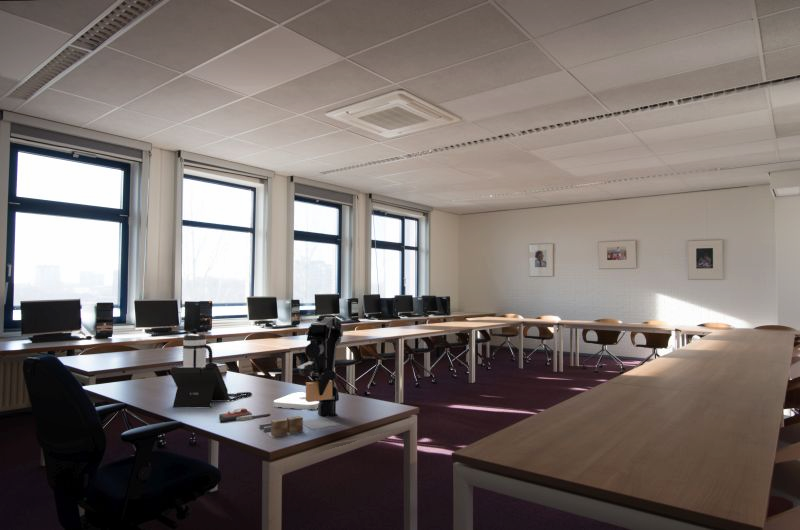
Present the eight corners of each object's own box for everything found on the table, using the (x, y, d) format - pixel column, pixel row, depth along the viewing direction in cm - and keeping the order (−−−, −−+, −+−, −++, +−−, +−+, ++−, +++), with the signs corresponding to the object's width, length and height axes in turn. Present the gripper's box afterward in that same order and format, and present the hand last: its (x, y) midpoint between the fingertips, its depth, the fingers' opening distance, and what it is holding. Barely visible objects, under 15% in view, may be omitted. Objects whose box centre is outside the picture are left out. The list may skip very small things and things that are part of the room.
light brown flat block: (328, 397, 197) (329, 379, 198) (332, 398, 195) (332, 380, 195) (305, 400, 192) (305, 382, 192) (308, 402, 189) (309, 383, 190)
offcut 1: (284, 431, 182) (284, 418, 182) (287, 433, 179) (287, 420, 179) (271, 434, 179) (271, 420, 179) (274, 436, 176) (274, 422, 177)
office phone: (254, 395, 248) (254, 354, 249) (231, 408, 220) (231, 363, 221) (198, 394, 250) (199, 354, 251) (168, 408, 222) (169, 363, 223)
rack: (290, 423, 195) (290, 418, 195) (305, 432, 183) (305, 426, 183) (257, 428, 188) (258, 423, 188) (271, 438, 175) (271, 432, 175)
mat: (325, 418, 202) (325, 417, 202) (340, 425, 191) (340, 424, 191) (298, 423, 195) (298, 421, 195) (311, 431, 184) (311, 429, 184)
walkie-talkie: (222, 426, 192) (271, 418, 204) (222, 415, 193) (271, 407, 205) (215, 421, 200) (263, 413, 211) (215, 410, 200) (263, 403, 212)
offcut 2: (299, 429, 185) (299, 415, 185) (302, 431, 183) (302, 417, 183) (286, 431, 182) (286, 417, 182) (289, 433, 180) (289, 419, 180)
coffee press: (178, 384, 274) (179, 330, 275) (181, 379, 289) (182, 328, 290) (212, 382, 279) (212, 329, 281) (213, 377, 294) (213, 327, 296)
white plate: (313, 411, 215) (313, 405, 215) (270, 407, 222) (270, 401, 222) (336, 400, 236) (336, 394, 236) (296, 397, 243) (296, 391, 243)
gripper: (290, 353, 197) (290, 392, 197) (310, 359, 182) (310, 402, 181) (316, 351, 203) (316, 389, 203) (337, 356, 188) (337, 397, 188)
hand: (319, 394), depth 193 cm, fingers closed on light brown flat block, 3 cm apart
